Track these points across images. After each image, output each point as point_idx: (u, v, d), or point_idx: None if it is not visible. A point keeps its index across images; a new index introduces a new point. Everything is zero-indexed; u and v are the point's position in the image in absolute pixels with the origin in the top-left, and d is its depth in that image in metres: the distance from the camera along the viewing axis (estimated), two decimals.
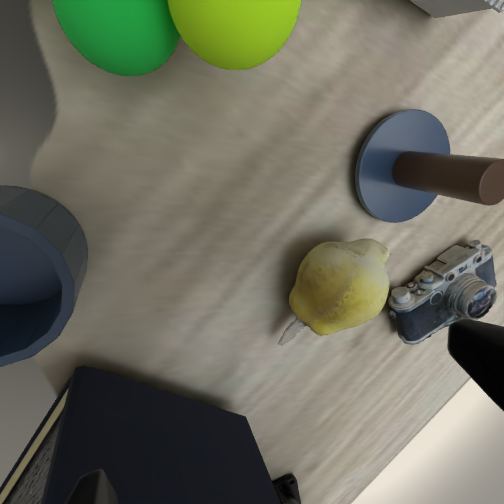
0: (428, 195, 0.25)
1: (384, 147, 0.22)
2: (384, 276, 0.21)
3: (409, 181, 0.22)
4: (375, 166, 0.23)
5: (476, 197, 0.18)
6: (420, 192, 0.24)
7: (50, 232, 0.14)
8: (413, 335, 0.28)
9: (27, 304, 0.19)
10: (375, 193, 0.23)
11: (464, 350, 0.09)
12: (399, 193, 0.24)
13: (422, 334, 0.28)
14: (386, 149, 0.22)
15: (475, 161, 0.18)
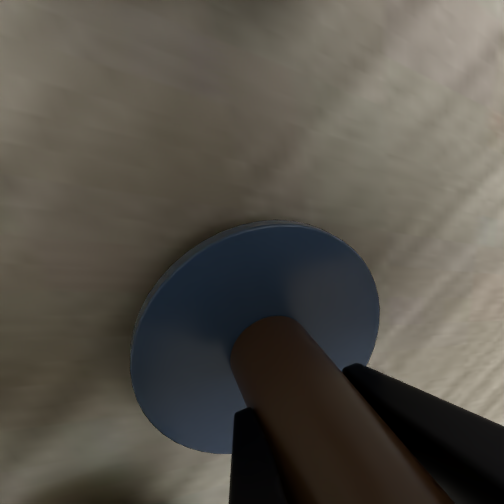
0: None
1: (195, 319, 0.09)
2: None
3: None
4: (178, 362, 0.09)
5: None
6: None
7: None
8: None
9: None
10: (192, 413, 0.10)
11: None
12: None
13: None
14: (202, 322, 0.09)
15: None
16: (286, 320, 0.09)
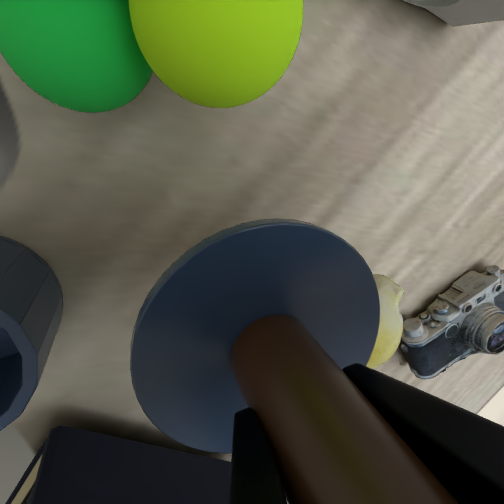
0: None
1: (196, 318, 0.09)
2: (397, 319, 0.19)
3: None
4: (178, 361, 0.09)
5: None
6: None
7: (7, 295, 0.12)
8: (426, 370, 0.26)
9: None
10: (193, 412, 0.10)
11: None
12: None
13: (437, 369, 0.26)
14: (203, 321, 0.09)
15: None
16: (287, 319, 0.09)
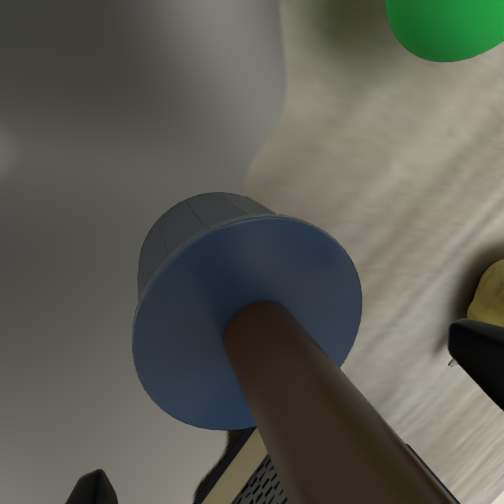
0: None
1: (191, 303, 0.10)
2: None
3: None
4: (176, 343, 0.10)
5: None
6: None
7: None
8: None
9: None
10: (189, 390, 0.11)
11: (464, 350, 0.09)
12: None
13: None
14: (198, 306, 0.10)
15: (343, 477, 0.05)
16: (274, 305, 0.10)
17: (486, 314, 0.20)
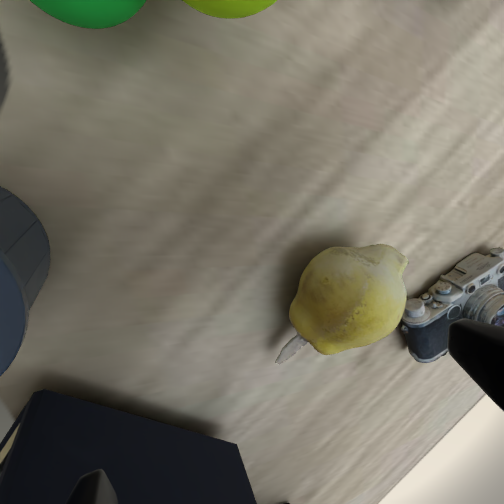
0: None
1: None
2: (401, 289, 0.18)
3: None
4: None
5: None
6: None
7: None
8: (427, 353, 0.25)
9: None
10: None
11: (464, 350, 0.09)
12: None
13: (437, 352, 0.25)
14: None
15: None
16: None
17: (296, 309, 0.19)
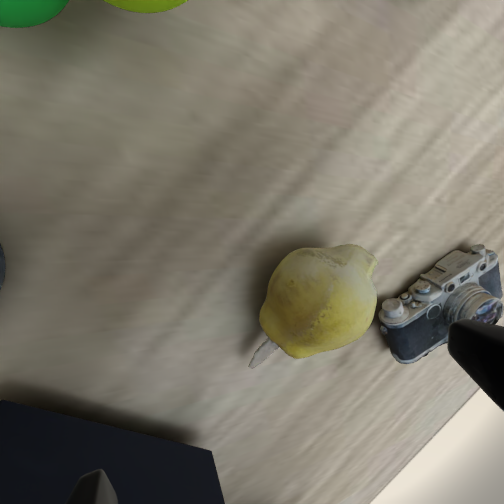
0: None
1: None
2: (370, 290, 0.17)
3: None
4: None
5: None
6: None
7: None
8: (407, 353, 0.24)
9: None
10: None
11: (464, 350, 0.09)
12: None
13: (418, 353, 0.24)
14: None
15: None
16: None
17: (265, 312, 0.19)
